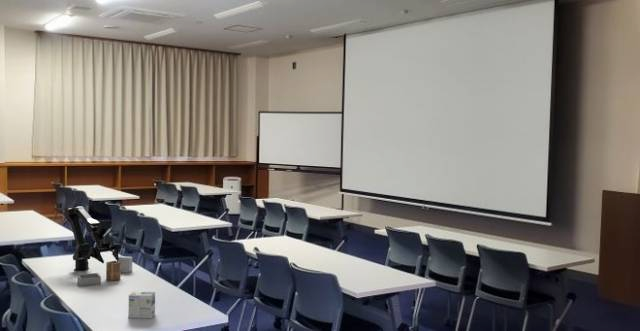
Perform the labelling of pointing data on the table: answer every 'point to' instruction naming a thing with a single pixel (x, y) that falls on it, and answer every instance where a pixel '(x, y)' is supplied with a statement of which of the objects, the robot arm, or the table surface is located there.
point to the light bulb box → (141, 305)
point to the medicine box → (125, 263)
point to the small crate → (113, 270)
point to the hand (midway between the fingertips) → (110, 261)
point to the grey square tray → (89, 279)
